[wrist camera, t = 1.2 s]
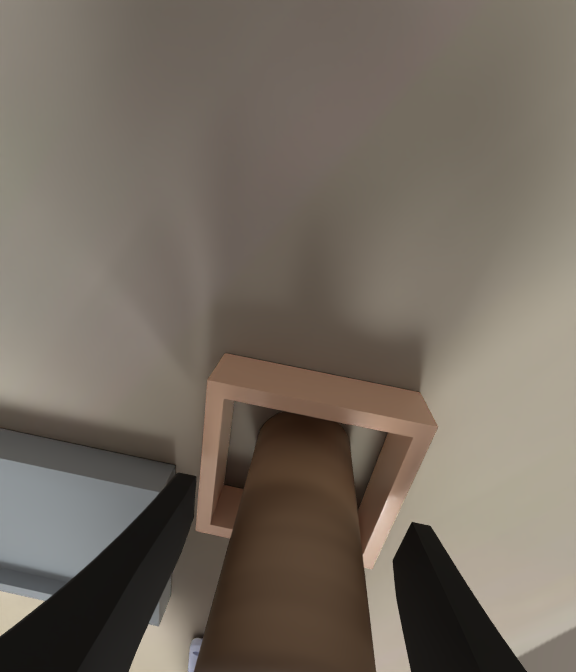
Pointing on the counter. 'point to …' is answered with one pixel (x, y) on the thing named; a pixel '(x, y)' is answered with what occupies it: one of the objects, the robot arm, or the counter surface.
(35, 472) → the tray
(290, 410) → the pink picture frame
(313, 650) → the brown rounded cylinder
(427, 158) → the counter surface
